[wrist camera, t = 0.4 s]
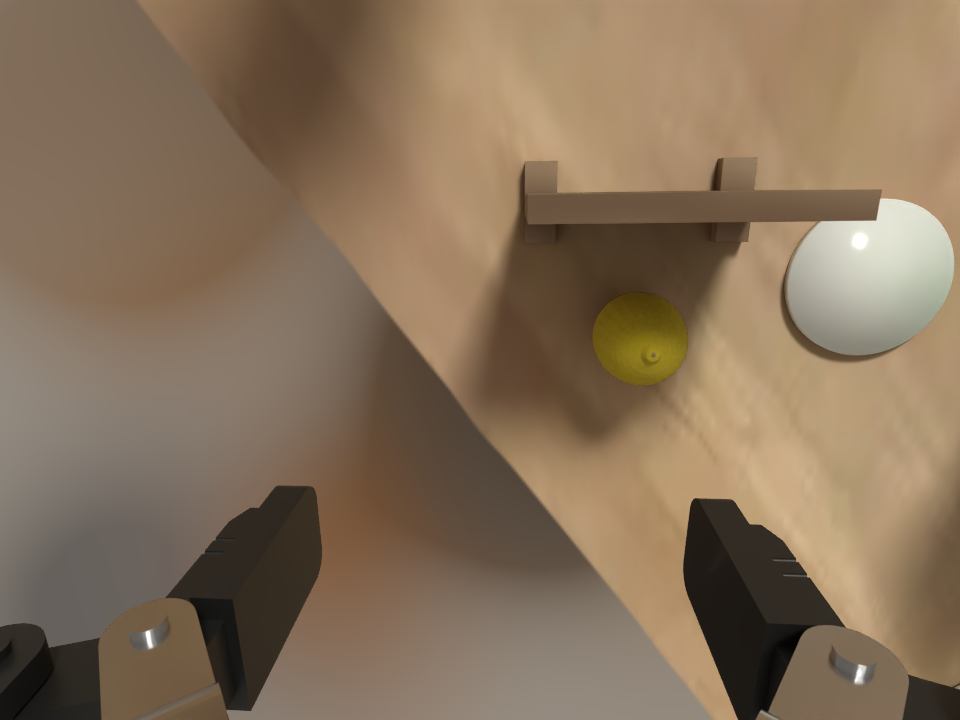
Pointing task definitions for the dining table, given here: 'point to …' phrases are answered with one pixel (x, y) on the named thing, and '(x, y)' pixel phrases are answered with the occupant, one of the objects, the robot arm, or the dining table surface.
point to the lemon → (640, 338)
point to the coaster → (869, 279)
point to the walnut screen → (688, 204)
